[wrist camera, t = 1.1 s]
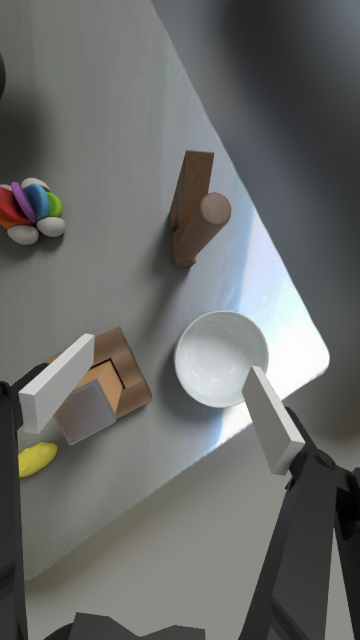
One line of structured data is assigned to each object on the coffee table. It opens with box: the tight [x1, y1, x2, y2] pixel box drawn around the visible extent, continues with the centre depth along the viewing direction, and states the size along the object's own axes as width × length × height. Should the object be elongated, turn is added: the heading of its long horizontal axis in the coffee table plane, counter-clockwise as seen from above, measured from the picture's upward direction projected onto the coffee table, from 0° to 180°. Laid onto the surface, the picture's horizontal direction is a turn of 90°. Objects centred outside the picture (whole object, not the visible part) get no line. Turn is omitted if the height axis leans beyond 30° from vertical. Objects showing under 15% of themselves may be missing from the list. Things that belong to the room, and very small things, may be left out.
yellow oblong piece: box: [18, 442, 58, 477], centre depth 32 cm, size 4×8×4 cm, turn 108°
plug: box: [53, 358, 123, 446], centre depth 29 cm, size 5×5×14 cm
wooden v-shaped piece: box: [170, 150, 231, 267], centre depth 29 cm, size 4×11×18 cm, turn 4°
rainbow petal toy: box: [0, 178, 65, 245], centre depth 29 cm, size 8×10×7 cm
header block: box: [45, 327, 152, 419], centre depth 34 cm, size 14×12×4 cm
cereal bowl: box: [173, 310, 269, 408], centre depth 36 cm, size 17×17×7 cm
